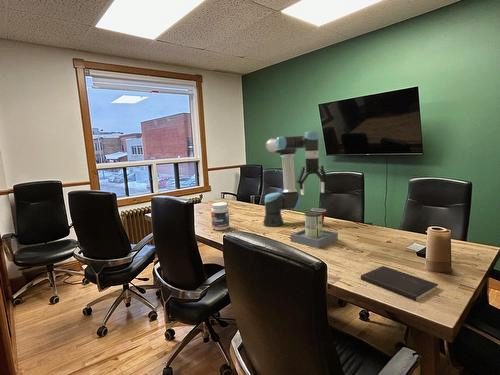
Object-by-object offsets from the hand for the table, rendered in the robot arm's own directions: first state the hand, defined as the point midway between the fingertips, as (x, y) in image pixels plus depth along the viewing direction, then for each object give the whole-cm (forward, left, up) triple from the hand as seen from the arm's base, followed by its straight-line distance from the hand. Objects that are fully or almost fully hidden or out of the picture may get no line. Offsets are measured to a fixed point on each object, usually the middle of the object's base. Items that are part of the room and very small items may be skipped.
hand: (312, 193), depth 175 cm
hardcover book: (+59, -26, -29) cm, 71 cm away
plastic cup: (-17, +30, -29) cm, 45 cm away
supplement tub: (-68, -20, -29) cm, 76 cm away
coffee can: (+1, -1, -26) cm, 26 cm away
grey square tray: (+1, -1, -29) cm, 29 cm away
